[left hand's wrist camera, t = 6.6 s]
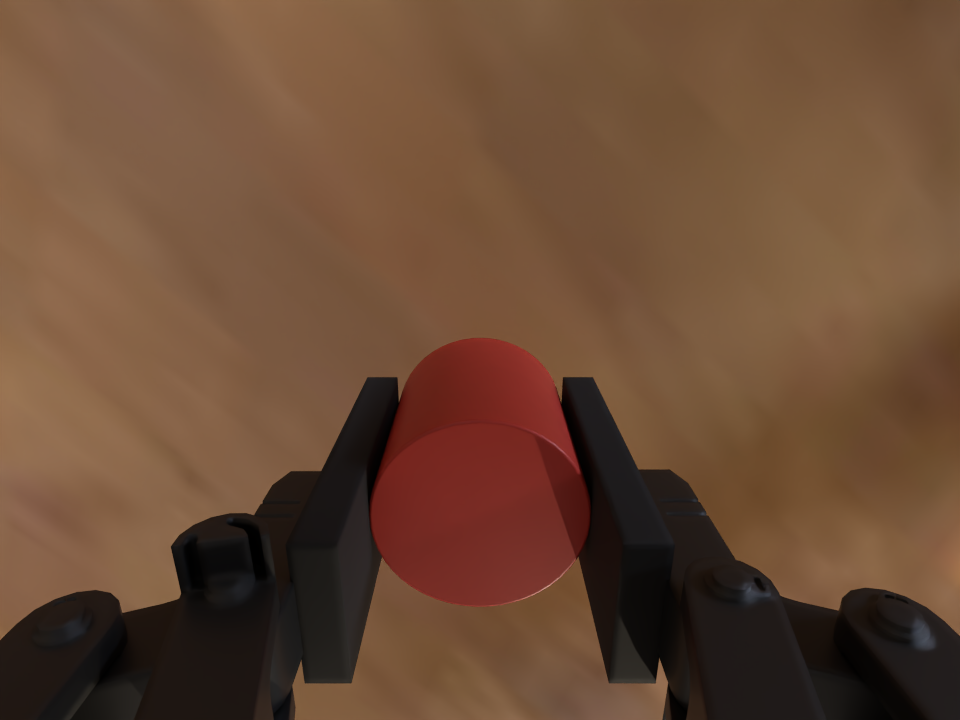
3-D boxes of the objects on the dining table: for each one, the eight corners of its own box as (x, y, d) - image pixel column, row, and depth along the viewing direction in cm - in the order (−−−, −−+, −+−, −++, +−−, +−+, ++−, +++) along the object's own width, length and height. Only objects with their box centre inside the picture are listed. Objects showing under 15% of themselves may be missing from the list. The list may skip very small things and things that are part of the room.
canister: (370, 381, 15) (325, 479, 10) (517, 308, 14) (533, 382, 10) (447, 503, 16) (435, 636, 12) (585, 443, 15) (626, 560, 11)
